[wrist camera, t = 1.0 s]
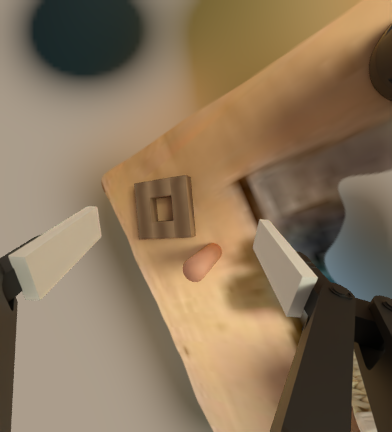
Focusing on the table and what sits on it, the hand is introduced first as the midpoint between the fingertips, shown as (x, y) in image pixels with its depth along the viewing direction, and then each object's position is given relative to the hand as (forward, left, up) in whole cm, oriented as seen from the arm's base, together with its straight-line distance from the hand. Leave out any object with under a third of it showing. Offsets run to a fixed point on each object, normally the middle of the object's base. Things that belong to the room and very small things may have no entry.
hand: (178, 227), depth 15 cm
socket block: (+16, -3, -27) cm, 32 cm away
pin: (+5, +8, -27) cm, 29 cm away
